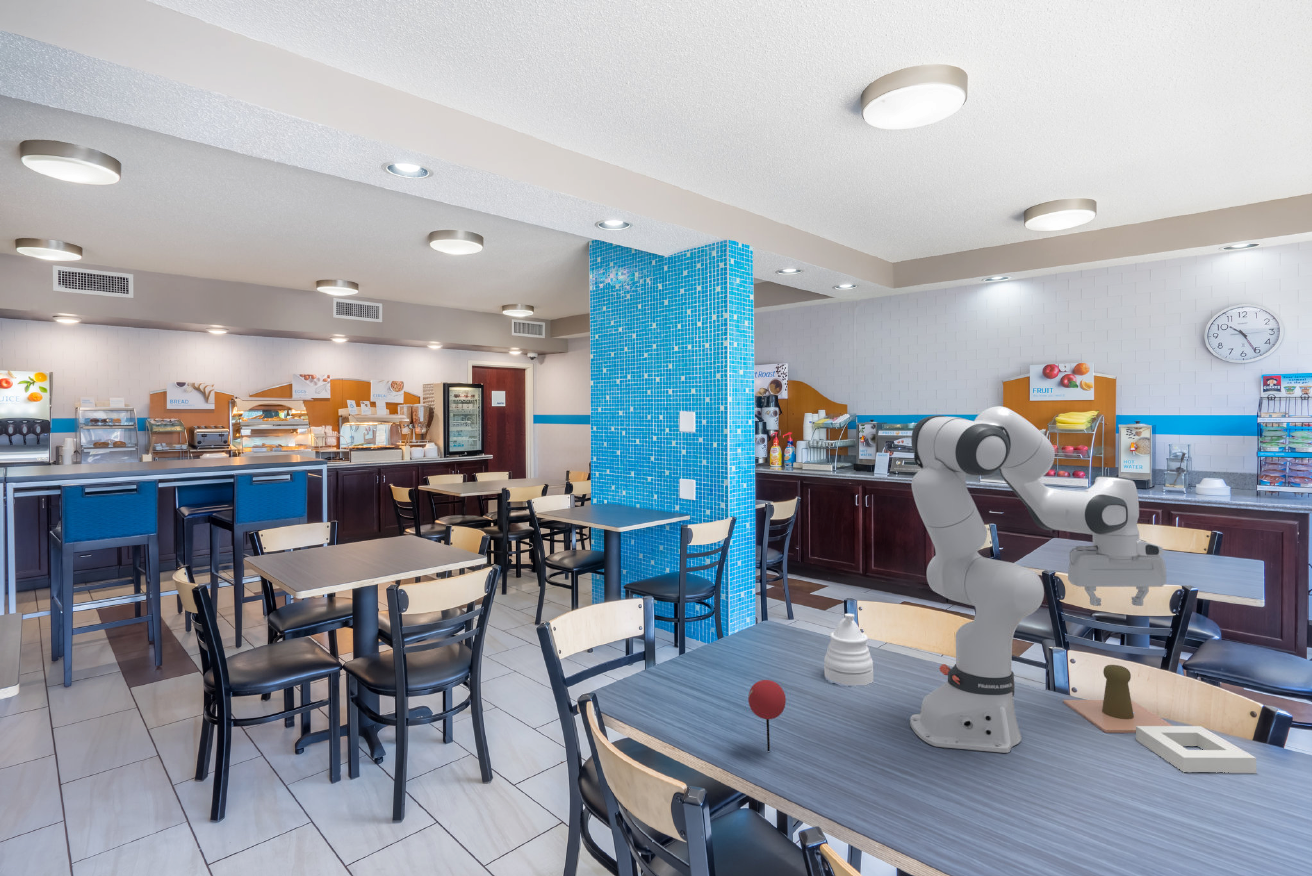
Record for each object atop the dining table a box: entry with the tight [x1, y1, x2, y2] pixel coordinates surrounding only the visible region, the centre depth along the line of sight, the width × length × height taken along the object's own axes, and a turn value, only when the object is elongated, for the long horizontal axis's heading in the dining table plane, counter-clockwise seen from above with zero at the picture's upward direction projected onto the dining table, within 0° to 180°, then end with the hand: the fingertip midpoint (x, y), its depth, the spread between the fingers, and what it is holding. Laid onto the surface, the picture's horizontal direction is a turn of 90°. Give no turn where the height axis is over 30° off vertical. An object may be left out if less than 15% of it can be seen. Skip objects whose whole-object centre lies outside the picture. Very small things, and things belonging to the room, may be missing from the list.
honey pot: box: [823, 613, 874, 686], centre depth 175 cm, size 13×13×18 cm
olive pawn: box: [1102, 664, 1134, 719], centre depth 149 cm, size 6×6×11 cm
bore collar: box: [1135, 725, 1257, 774], centre depth 130 cm, size 13×13×3 cm
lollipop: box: [747, 679, 787, 752], centre depth 136 cm, size 8×8×15 cm
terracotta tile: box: [1062, 699, 1174, 734], centre depth 148 cm, size 16×16×1 cm
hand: (1116, 605), depth 148 cm, fingers open, 8 cm apart
